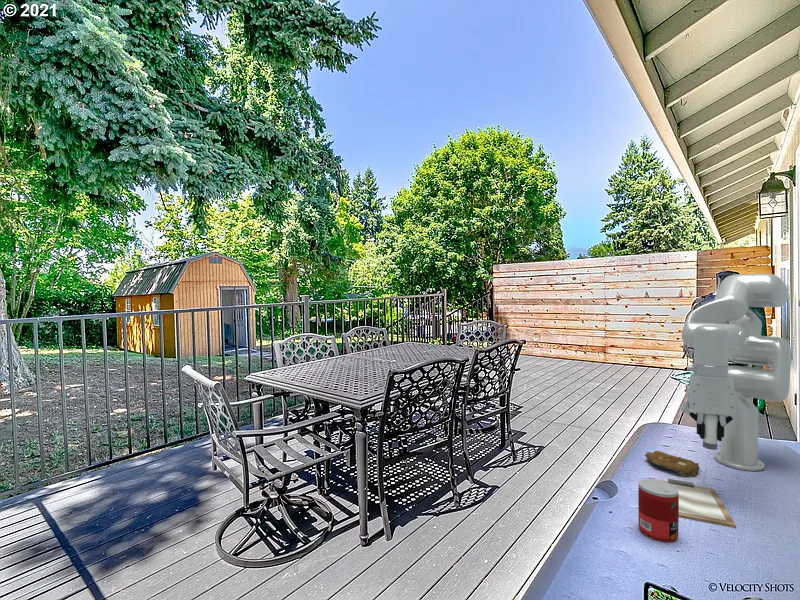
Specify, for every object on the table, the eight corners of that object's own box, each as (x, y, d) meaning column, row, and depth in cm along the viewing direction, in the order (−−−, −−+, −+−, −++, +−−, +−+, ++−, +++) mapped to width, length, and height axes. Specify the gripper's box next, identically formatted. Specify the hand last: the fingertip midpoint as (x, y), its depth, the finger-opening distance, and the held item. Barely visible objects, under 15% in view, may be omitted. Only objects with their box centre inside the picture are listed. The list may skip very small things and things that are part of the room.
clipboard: (648, 480, 123) (648, 475, 123) (714, 490, 117) (714, 485, 116) (657, 512, 105) (657, 507, 105) (735, 527, 98) (735, 521, 98)
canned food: (679, 547, 91) (679, 497, 91) (637, 535, 96) (637, 488, 95) (677, 529, 98) (677, 483, 98) (638, 520, 102) (638, 476, 102)
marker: (701, 444, 115) (701, 401, 114) (716, 446, 113) (716, 402, 113) (703, 448, 112) (704, 404, 111) (719, 450, 110) (719, 405, 110)
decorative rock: (637, 467, 134) (692, 484, 123) (637, 454, 134) (692, 471, 122) (650, 455, 142) (703, 471, 130) (650, 444, 141) (703, 458, 130)
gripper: (677, 371, 112) (676, 438, 113) (753, 376, 105) (753, 447, 105) (672, 366, 119) (672, 430, 119) (744, 371, 112) (743, 438, 112)
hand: (710, 437), depth 112 cm, fingers closed on marker, 3 cm apart
